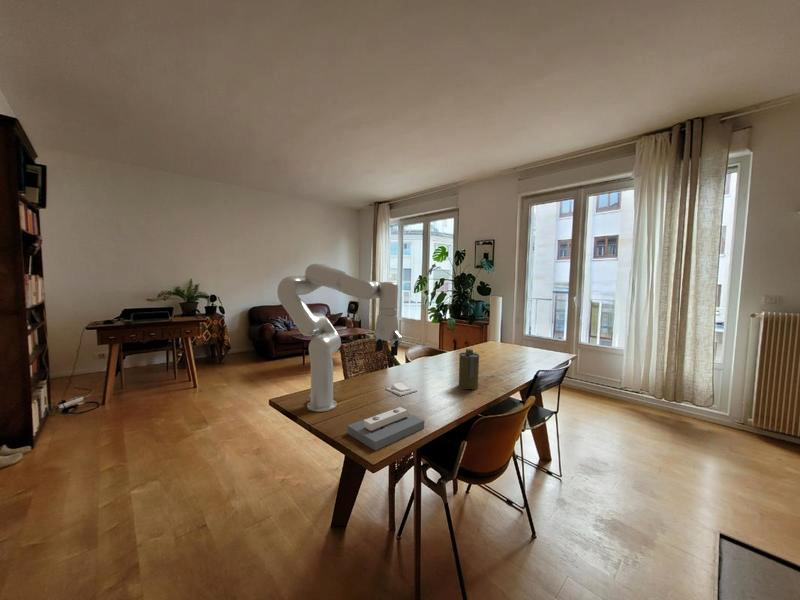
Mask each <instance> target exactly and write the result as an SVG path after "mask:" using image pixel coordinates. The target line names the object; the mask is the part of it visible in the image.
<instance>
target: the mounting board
mask: <svg viewBox="0 0 800 600" xmlns="http://www.w3.org/2000/svg"><path fill="white" fill-rule="evenodd" d="M393 409H396V407H395V408H392V409H387V410H386V411H383V412H381V413H378V414H375V415H373V416H369V417H367V418H364V419H361V420H359V421H355V422H353V423H350V424H348V425H347V426H346V427H347V430H346V431H347V433H346V434H348V435H349V436H351V437H352V438H353V439H356V440H357V441H359V442H361V443H362V444H363V445H365V446H366V447H369V448H370V449H372V450H373V451H378V450H380V449H382V448H385V447H386V445H387V446H390V445H391V444H393V443H395V442H397V440H398V441H399V439H400V440H401V438H402V439H404V438H406V437H408V436H411V435H413V434H414V433H417V432H419V431H422V430H423V429H425V420H424V419H422V418H419V417H417V416H415V415H412V414H410V413H408V412H407V417H404V420H403V421H400V422H398V423H397V422H392V423H389V424H387V425H384V426H382V427H381V430H378V431H376V432H373V433H371V432H369V431H368V430H367V429H366V428H365V427H364V420H366V419H368V418H371V417H374V416H377V415H380V414H382V413H385V412H388V411H391V410H393ZM412 433H413V434H412ZM410 434H411V435H410ZM403 437H404V438H403Z"/></svg>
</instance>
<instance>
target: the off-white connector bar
mask: <svg viewBox="0 0 800 600" xmlns="http://www.w3.org/2000/svg"><path fill="white" fill-rule="evenodd" d="M395 408H396V407H395ZM392 409H393V410H391V409H390V410H391V411H388V410H387V411H388V412H386V411H384V412H385V413H383V412H381V413H382V414H380V413H379V414H380V415H377V414H376V415H377V416H375V415H373V416H374V417H372V416H370V417H371V418H369V417H367V418H368V419H366V418H365V419H366V420H364V419H363V420H364V427H365V428H366V429H367V430H368V431H369V432H371V433H373V432H376V431H378V430H381V427H382V426H384V425H387V424H389V423H392V422H397V423H398V422H400V421H403V420H404V417H407V413H408V409H406V408H404V407H401V406H399V407H397V408H396V409H394V408H392Z"/></svg>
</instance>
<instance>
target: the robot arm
mask: <svg viewBox="0 0 800 600" xmlns="http://www.w3.org/2000/svg"><path fill="white" fill-rule="evenodd" d="M322 287H326V288H328V289H332V290H335V291H338V292H340V293H343V294H345V295H347V296H349V297H353V298H357V299H361V300H366V301H367V300H374V299H375V300H376V299H378V314H377V317H376V321H375V329H374V330H373V335H374V338H375V340H374V341H375V351H376V352H382V351H383V348H384V347H383V346H384V343H383V341H385V342H390V344H391V345H390V353H389V354H390V357H397V356H398V351H399V348H398V347H399V346H400V344H401V341H402V339H403V336H402V335H401V334H400V333H399V320H398V301H399V300H398V298H399V285H398V283H397V282H391V281H382V282H381V281H376V280H364V279H361V278H357V277H354V276H351V275H349V274H347V273H346V271H343V270H341V269H337V268H333V267H331V266H329V265H327V264H321V263H311V264H310V265H308V266H307V267H306V268H305V272H304V275H303V276H301V275H290V276H289V275H288V276H285V277H284V278H282V279H281V280H280V281H279V283H278V286H277V297H278V300H279V302H280V304H281V306H282V307H283V309H284V310H285V311H286V312H287V314H288V315H289V317H290V318H291V320H292V321H293V323H294V325H295V326H296V328H297V329H298V331H299V332H300V334H301V335H303V336H305V337H311V336H314V337H313V338H312V339H311V340H310V342H309V344H308V355H309V360H310V394H309V395H308V398H310V401H309V402H308V403H307V405H306V408H307V409H308V410H309V411H312V412H317V413H323V412H328V411H331V410H333V409H335V408H336V407H337V406H338V405H337V404H338V403H337V401H336V400H335V399H334V363H333V359H332V358H333V357H332V354H334V353H335V352H337V351H338V350H339V349H340V348H341V346H342V345H341V344H342V340H341V339H342V338H341V337H340V335H339V333H338V332H337V330H336V329H335V327H334V326H333V324H332V322H331V321H330V319H328V317H327V316H325V314H323V313H320V312H312V311H311V309H310V308H309V307H308V304H307V303H306V302H305V301H304V300H303V299H301V298H300V297H299V296H302V295H308V294H311V293H312V292H314V291H316V290H318V289H319V288H322Z"/></svg>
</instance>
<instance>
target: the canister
mask: <svg viewBox="0 0 800 600" xmlns="http://www.w3.org/2000/svg"><path fill="white" fill-rule="evenodd" d="M458 356H459V360H458V361H459V363H458V364H459V366H458V367H459V368H458V388H459V387H460V389H461V388H463V389H462V390H464V389H472V390H471V391H474V390H473V389H476V390H478V389H479V366H480V354H478V353H475V352H474V350H473V349H471V348H465V351H464V352H460V353H459V355H458ZM477 388H478V389H477Z"/></svg>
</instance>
